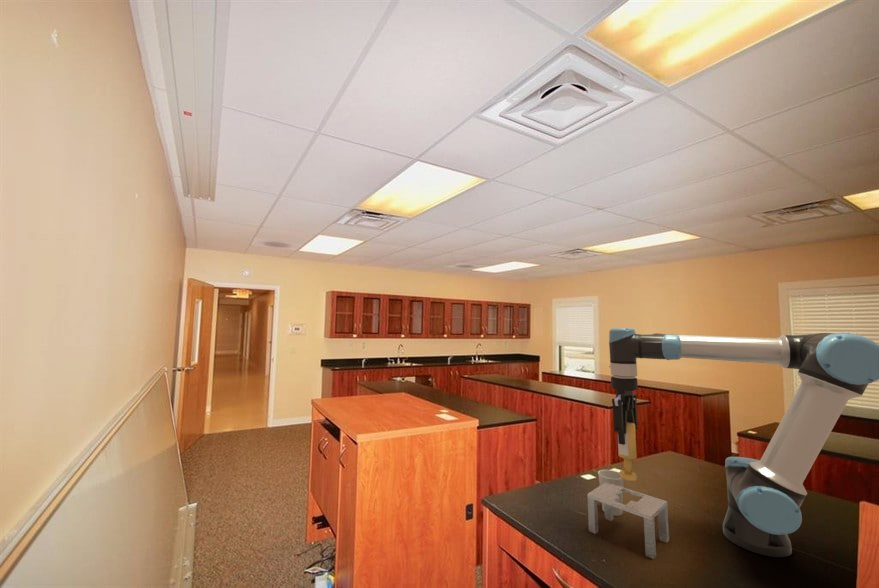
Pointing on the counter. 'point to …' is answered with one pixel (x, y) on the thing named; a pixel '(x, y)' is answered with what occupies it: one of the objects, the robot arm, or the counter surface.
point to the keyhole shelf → (644, 508)
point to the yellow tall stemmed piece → (627, 471)
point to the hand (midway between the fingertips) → (627, 452)
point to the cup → (614, 479)
